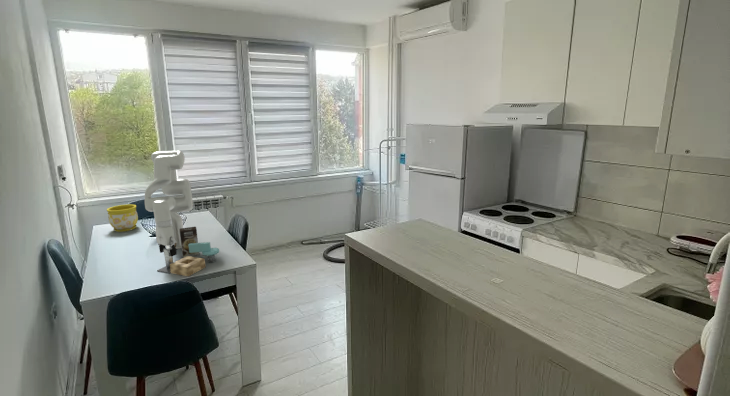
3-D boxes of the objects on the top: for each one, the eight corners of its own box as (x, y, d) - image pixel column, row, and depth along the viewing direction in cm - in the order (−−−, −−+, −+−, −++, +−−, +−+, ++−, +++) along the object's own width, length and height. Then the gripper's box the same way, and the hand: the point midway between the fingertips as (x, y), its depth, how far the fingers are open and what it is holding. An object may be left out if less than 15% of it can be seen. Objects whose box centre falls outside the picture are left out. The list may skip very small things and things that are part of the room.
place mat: (157, 271, 198) (157, 270, 198) (171, 264, 207) (170, 263, 206) (170, 273, 195) (169, 272, 195) (183, 266, 204) (183, 265, 203)
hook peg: (164, 268, 200) (161, 249, 197) (170, 266, 203) (167, 247, 201) (170, 269, 198) (167, 250, 196) (175, 267, 202) (173, 248, 199)
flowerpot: (136, 223, 283) (133, 203, 279) (142, 229, 270) (138, 207, 266) (108, 229, 271) (104, 207, 267) (113, 235, 258) (109, 212, 254)
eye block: (170, 273, 196) (169, 264, 195) (188, 264, 207) (187, 256, 206) (188, 276, 192) (187, 267, 191) (205, 267, 203) (204, 258, 201)
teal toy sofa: (221, 257, 216) (219, 239, 213) (218, 263, 207) (216, 244, 205) (193, 259, 214) (191, 241, 211) (189, 265, 205) (186, 247, 202)
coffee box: (182, 257, 216) (179, 231, 212) (182, 254, 222) (178, 228, 218) (199, 254, 220) (196, 228, 216) (199, 251, 226) (195, 225, 222)
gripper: (147, 222, 196) (152, 252, 200) (166, 227, 187) (170, 259, 191) (161, 218, 202) (166, 248, 207) (180, 223, 193) (184, 254, 198)
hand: (168, 253), depth 199 cm, fingers open, 9 cm apart
